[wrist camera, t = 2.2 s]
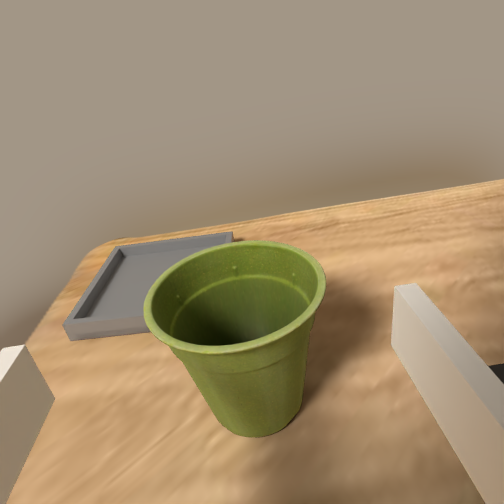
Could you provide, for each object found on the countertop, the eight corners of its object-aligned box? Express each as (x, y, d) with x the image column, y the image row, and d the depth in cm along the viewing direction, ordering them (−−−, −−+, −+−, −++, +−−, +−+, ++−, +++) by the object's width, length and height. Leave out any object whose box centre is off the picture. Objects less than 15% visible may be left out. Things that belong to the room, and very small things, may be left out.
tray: (120, 259, 54) (115, 246, 53) (235, 245, 53) (232, 231, 52) (70, 340, 40) (62, 325, 38) (227, 323, 38) (224, 306, 37)
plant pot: (167, 382, 33) (128, 275, 27) (283, 329, 36) (270, 226, 31) (214, 510, 23) (168, 385, 18) (366, 420, 27) (367, 294, 21)
